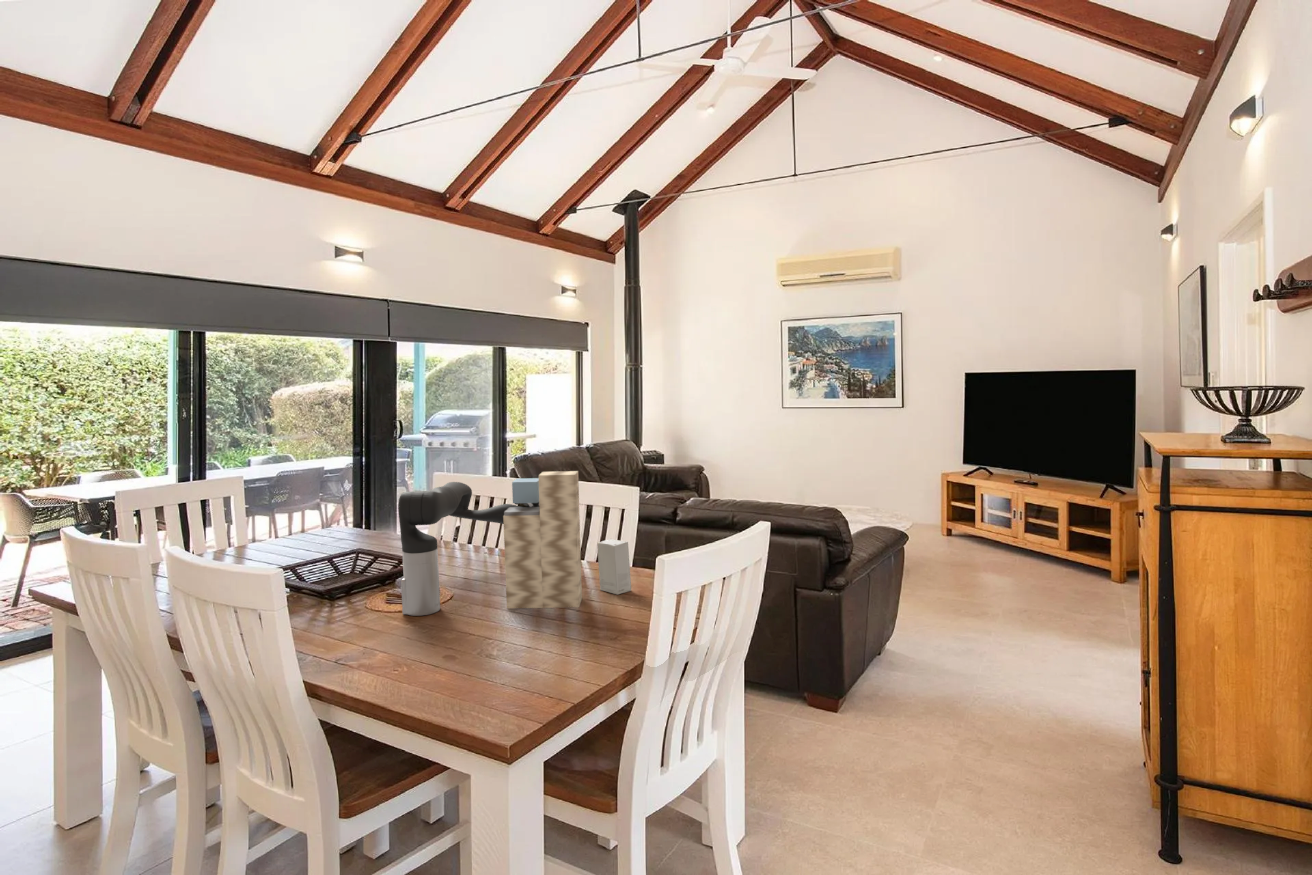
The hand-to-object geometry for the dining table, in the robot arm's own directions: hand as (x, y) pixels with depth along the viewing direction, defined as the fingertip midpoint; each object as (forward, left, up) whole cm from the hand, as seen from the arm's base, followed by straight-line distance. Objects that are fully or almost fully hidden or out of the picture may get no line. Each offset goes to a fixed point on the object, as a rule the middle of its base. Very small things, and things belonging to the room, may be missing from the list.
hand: (531, 488), depth 215 cm
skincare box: (+24, -1, -31) cm, 39 cm away
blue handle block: (0, -2, -2) cm, 3 cm away
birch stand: (+5, -12, -31) cm, 34 cm away
